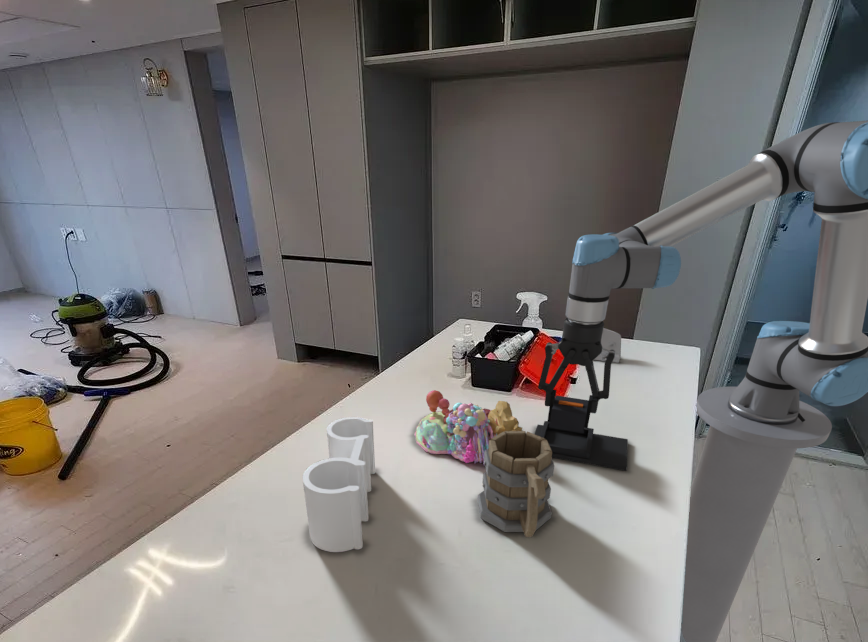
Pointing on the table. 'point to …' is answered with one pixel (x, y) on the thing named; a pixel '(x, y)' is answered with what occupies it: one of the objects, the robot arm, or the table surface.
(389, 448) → the table surface
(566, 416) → the black orange striped block
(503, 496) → the tankard
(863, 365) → the robot arm
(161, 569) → the table surface
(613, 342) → the grey upright panel
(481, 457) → the candy landscape model
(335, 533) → the bracket
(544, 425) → the base pad
